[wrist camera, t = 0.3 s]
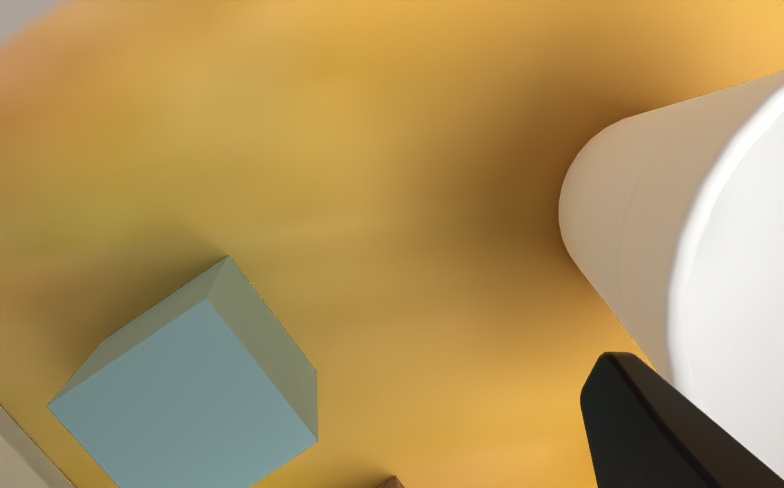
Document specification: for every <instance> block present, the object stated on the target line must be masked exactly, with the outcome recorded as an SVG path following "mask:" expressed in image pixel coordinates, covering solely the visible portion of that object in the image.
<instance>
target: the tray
mask: <svg viewBox="0 0 784 488" xmlns="http://www.w3.org/2000/svg"><path fill="white" fill-rule="evenodd" d="M0 488H76V487H75V486H74V485H73V484H72V483H71V482H70V481H69V480H68V479H67V478H66V476H65V475H64V474H63V473H62V472H61V471H60V470H59V469H58V468H57V467H56V466H55V464H54V463H53V462H52V461H51V460H50V459H49V458H48V457H47V456H46V455H45V454H44V453H43V451H42V450H41V449H40V448H39V447H38V446H37V445H36V444H35V443H34V442H33V441H32V439H31V438H30V437H29V436H28V435H27V434H26V433H25V432H24V431H23V430H22V429H21V428H20V426H19V425H18V424H17V423H16V422H15V421H14V420H13V419H12V418H11V417H10V416H9V414H8V413H7V412H6V411H5V410H4V409H3V408H2V407H1V406H0Z"/></svg>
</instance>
